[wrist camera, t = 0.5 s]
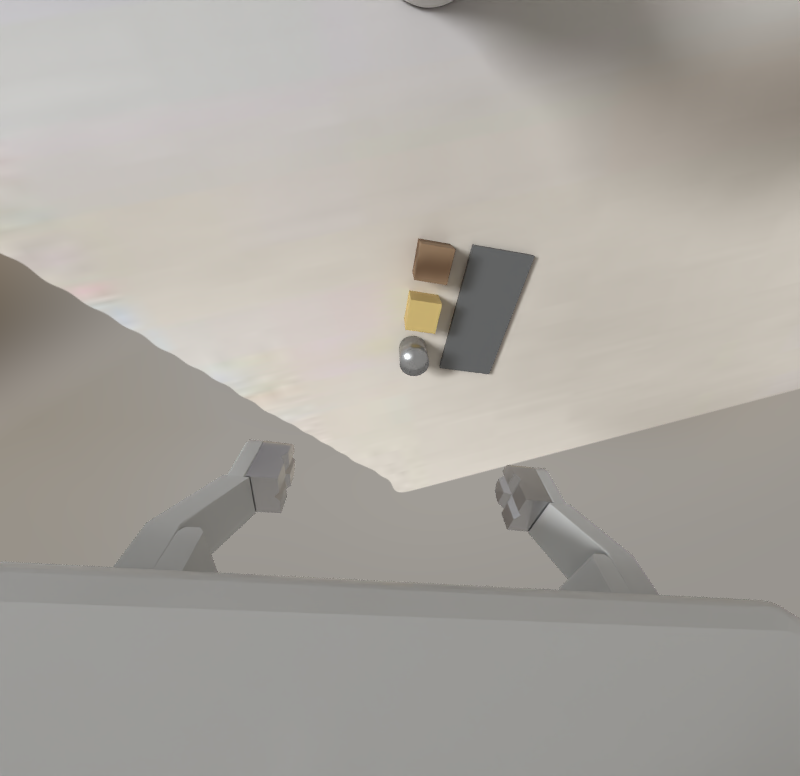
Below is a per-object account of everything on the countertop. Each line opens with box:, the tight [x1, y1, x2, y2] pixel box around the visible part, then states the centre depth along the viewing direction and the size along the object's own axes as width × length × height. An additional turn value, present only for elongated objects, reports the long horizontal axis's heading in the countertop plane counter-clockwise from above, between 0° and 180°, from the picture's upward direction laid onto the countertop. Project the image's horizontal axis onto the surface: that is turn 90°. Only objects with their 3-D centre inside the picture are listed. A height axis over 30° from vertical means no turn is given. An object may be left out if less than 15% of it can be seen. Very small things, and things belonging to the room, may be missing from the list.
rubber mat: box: [440, 244, 535, 374], centre depth 52 cm, size 22×10×1 cm, turn 171°
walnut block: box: [413, 238, 455, 285], centre depth 45 cm, size 5×5×5 cm
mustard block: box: [404, 291, 442, 334], centre depth 49 cm, size 5×5×5 cm
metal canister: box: [399, 336, 429, 376], centre depth 53 cm, size 5×5×6 cm
